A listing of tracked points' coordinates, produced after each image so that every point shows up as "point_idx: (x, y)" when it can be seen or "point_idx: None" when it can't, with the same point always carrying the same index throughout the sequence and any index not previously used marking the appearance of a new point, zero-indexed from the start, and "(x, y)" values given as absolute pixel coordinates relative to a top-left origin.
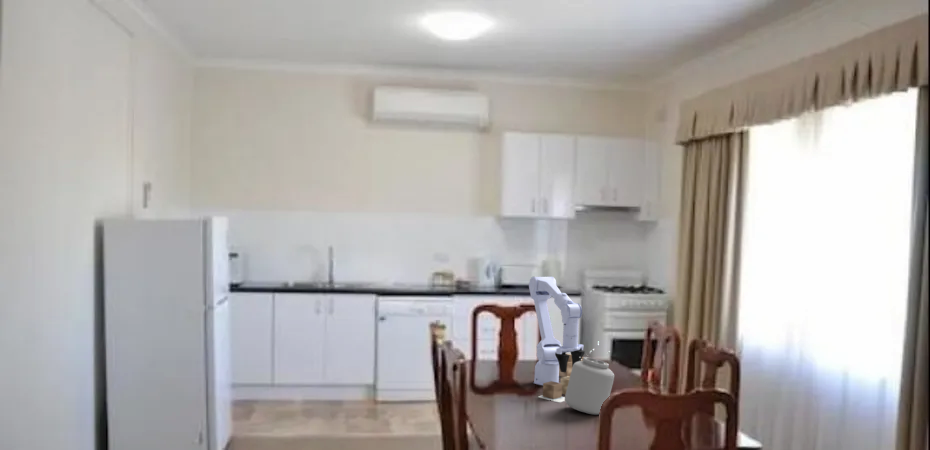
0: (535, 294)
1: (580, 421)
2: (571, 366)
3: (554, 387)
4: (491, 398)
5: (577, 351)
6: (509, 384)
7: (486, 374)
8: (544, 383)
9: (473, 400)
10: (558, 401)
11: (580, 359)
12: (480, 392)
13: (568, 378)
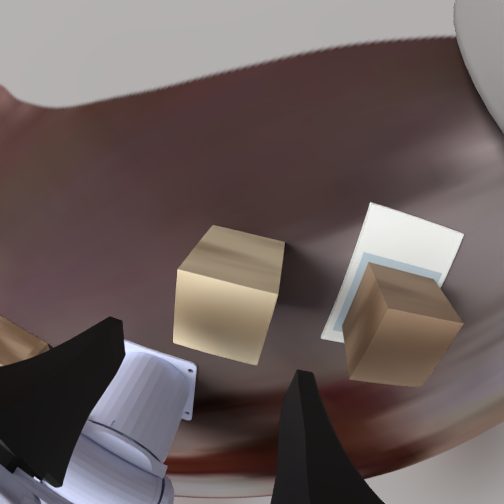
0: None
1: None
2: (9, 355)
3: (454, 315)
4: (462, 423)
5: (21, 457)
6: (270, 455)
7: (213, 487)
8: (424, 381)
9: (486, 430)
10: (455, 242)
11: (41, 362)
12: (406, 459)
13: (234, 321)
